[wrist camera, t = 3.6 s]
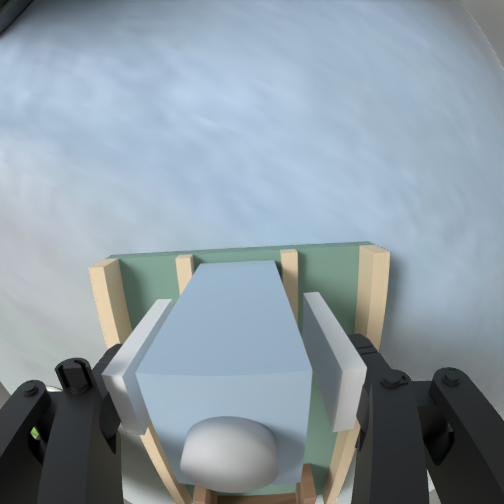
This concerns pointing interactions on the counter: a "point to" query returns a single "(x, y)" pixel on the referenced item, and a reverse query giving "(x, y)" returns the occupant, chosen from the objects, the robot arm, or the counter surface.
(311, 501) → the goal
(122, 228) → the counter surface
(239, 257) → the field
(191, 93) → the counter surface
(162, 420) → the block
